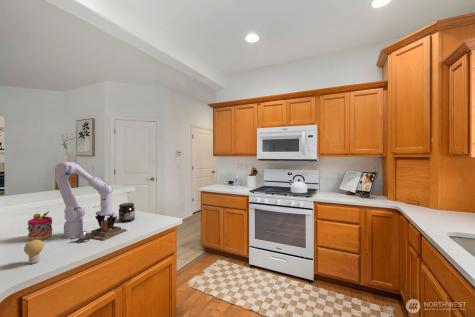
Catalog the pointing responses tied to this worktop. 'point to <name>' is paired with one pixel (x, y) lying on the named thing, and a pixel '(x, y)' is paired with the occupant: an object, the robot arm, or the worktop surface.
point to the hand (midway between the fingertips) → (106, 227)
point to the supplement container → (126, 212)
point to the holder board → (105, 233)
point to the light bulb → (34, 250)
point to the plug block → (105, 226)
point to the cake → (40, 227)
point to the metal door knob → (83, 237)
